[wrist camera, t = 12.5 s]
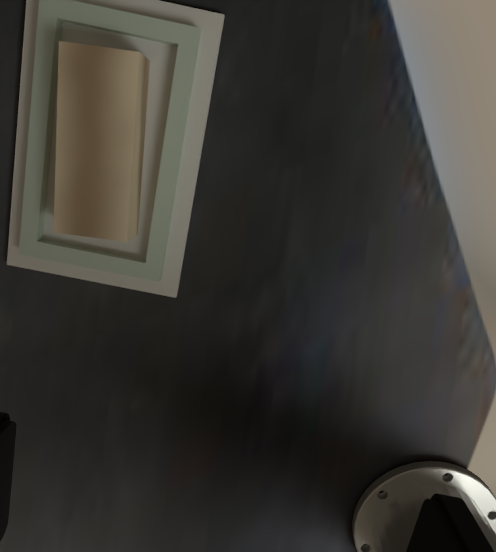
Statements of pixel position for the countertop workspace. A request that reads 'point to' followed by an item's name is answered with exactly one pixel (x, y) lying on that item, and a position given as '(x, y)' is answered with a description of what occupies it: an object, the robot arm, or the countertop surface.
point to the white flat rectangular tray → (157, 145)
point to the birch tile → (99, 140)
